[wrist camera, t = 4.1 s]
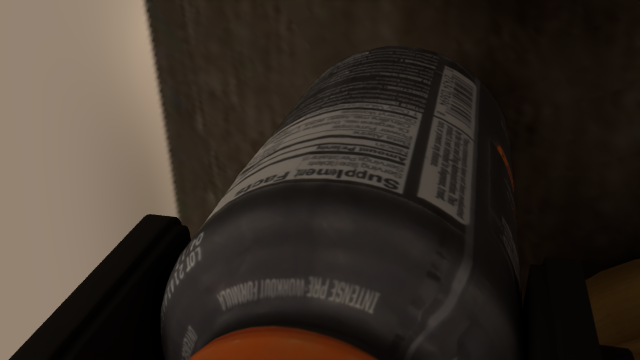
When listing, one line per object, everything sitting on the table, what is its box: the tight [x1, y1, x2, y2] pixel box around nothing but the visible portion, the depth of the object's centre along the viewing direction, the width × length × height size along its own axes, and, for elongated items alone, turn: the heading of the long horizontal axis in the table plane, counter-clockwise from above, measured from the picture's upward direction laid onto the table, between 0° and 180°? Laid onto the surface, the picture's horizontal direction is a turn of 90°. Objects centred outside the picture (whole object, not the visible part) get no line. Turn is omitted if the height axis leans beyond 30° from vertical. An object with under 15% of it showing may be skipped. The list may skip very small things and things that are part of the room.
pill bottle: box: [160, 46, 525, 360], centre depth 12 cm, size 6×6×11 cm
